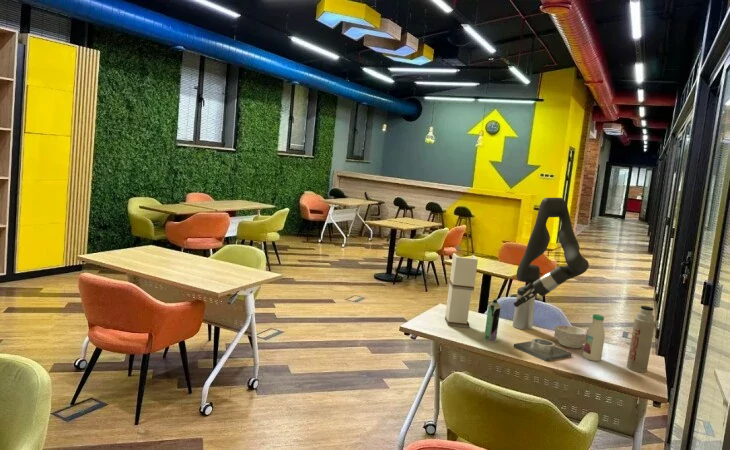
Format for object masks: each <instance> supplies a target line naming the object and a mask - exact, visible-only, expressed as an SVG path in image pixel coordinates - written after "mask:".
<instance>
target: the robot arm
mask: <svg viewBox="0 0 730 450" xmlns="http://www.w3.org/2000/svg"><path fill="white" fill-rule="evenodd" d="M549 218H559V220H560V222H561V225H560V229H559V232H558V240H559V243H560V245H561V248H562V251H563V255H564V260H565V263H566V265H565V266H561V265H559V266H558V265H557V266H556V267H555V268H553V269H552V270H551V271H549V272H547V273H545V274H543V275H542V276H541V270H540V267H539V265H536V264H532V262H534V261H535V260H537V259H539V257H540V256H542V255H543V254H544V253H546V251H547V250H548V246H549V244H550V242H551V236H550V232H549V230H548V226H547V224H548V223H547V222H548V219H549ZM573 229H574V228H573V224H572V221H571V217H570V212H569V208H568V205H567V202H566V200H565V199H564V197H563V198H562V197H545V198H542V200H541V202H540V204H539V207H538V211H537V216H536V220H535V224H534V226H533V229H532V231H531V233H530V237H529V239H528V243H527V245H526V249H525V252H524V253H523V257H522V258H521V260H520V263H519V264H518V267H517V270H516V277H515V278H516V279H517V280H518V281H519V282H520V283H521V282H522V283H527V284H526V285H524V286H521V287H519V288H517V291H516V292H517V293H516V299H515V302H513V306H514V313H513V319H512V327H514V328H516V329H519V330H525V331H526V330H527V331H528V330H531V329H533V322H534V317H535V310H534V308H535V302H536V298H537V296H538V295H539V296H540V297H545V296H546V295H548V294H549V293H551V292H552V291H554V290H556V289H557V288H558V287H559V286H560V285H562V284H564V283H565V282H566V281H569V280H570V279H574V278H576V277H578V276H581V275H583V274H584V273H586V271H588V269H589V266H590V264H589V261H588V259H586V258H585V257H583V256H582V254H581V252H580V243H579V242H578V239H577V237H576V235H575V232H574V230H573ZM540 276H541V277H540Z"/></svg>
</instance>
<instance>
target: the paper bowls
mask: <svg viewBox="0 0 730 450" xmlns="http://www.w3.org/2000/svg"><path fill="white" fill-rule="evenodd" d="M586 334H587V330H586V329H584V328H581V327H577V326H574V325H567V324H566V325H565V324H561V325H560V324H558V325H556V326H555V329H554V338H556V339H557V342H558V343H559V344H560V345H562V346H564V347H567V348H571V349H580V348H582V347H583V345H585V339H586Z"/></svg>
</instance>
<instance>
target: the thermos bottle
mask: <svg viewBox="0 0 730 450" xmlns="http://www.w3.org/2000/svg"><path fill="white" fill-rule="evenodd" d="M655 326H656V320H655V315H654V308H653V307H651V306H648V305H647V306H646V305H641V306H640V309H639V312H637V313H636V317H634V321H633V327H632V332H631V337H630V338H631V339H630V345H629V351H628V357H627V361H626V369H628V370H630V371H633V372H637V373H643V374H644V373H647V372H648V371H647V370H648V366H649V361H650V354H651V348H652V343H653V337H654V333H655V332H654V331H655Z"/></svg>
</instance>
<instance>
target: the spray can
mask: <svg viewBox="0 0 730 450" xmlns="http://www.w3.org/2000/svg"><path fill="white" fill-rule="evenodd" d="M501 309H502V308H501V304H500V303H499V302H498V299H497V298H495V299H493V300H492V301H491V302H489V303H488V308H487V313H486V314H487V315H486V322H485V330H484V336H483V341H484V342H486V343H492V344H495V343H496V342H497V336H498V335H497V334H498V328H499V322H500V316H501V314H500V313H501Z"/></svg>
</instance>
